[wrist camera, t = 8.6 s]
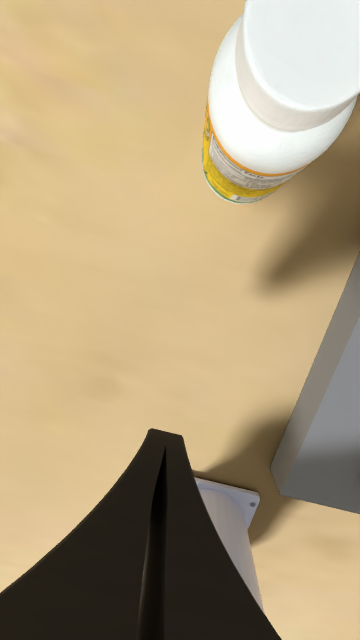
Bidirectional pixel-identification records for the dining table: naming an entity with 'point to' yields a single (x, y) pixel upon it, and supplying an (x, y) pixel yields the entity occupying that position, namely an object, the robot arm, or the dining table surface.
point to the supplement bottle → (279, 93)
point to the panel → (327, 417)
